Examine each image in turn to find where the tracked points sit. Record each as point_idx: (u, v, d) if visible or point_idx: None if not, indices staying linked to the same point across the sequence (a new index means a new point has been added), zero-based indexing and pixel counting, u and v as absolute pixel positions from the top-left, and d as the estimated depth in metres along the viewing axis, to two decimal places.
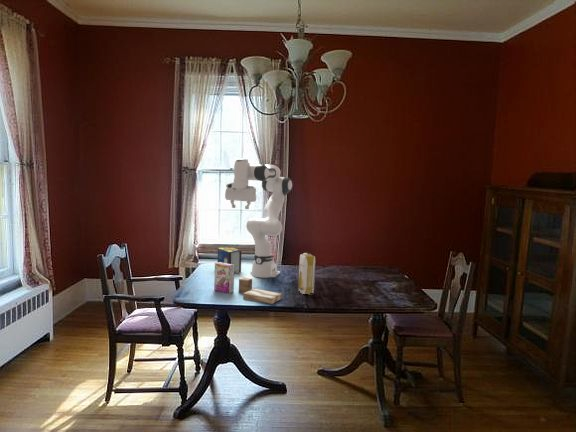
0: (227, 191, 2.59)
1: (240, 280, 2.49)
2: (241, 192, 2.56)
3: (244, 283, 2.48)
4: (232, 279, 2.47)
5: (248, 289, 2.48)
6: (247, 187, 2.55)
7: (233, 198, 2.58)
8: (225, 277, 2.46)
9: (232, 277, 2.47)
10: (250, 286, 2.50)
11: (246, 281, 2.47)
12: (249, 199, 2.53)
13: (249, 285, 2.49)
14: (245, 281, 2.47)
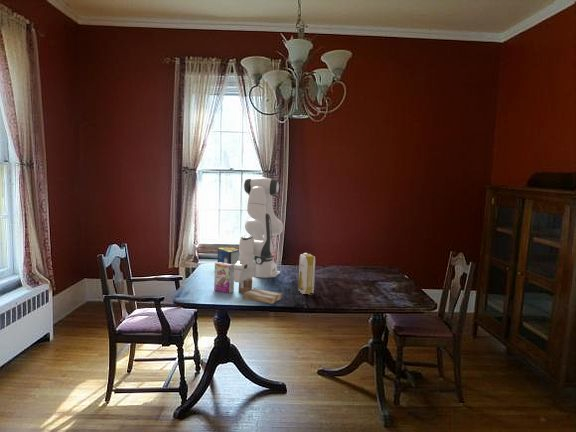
0: (241, 273, 2.41)
1: None
2: (249, 270, 2.50)
3: (244, 283, 2.48)
4: (232, 279, 2.47)
5: (248, 289, 2.48)
6: None
7: (244, 278, 2.46)
8: (225, 276, 2.46)
9: (232, 277, 2.47)
10: (250, 286, 2.50)
11: (246, 281, 2.47)
12: (254, 274, 2.56)
13: (249, 285, 2.49)
14: (245, 281, 2.47)
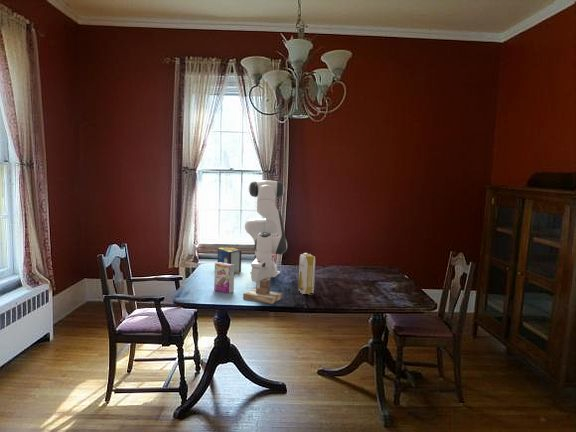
0: (259, 272, 2.29)
1: None
2: (267, 268, 2.38)
3: (262, 284, 2.36)
4: (232, 279, 2.47)
5: (266, 290, 2.36)
6: None
7: (262, 277, 2.33)
8: (225, 277, 2.46)
9: (232, 277, 2.47)
10: (268, 287, 2.38)
11: (264, 282, 2.35)
12: (272, 273, 2.43)
13: (267, 286, 2.37)
14: (263, 282, 2.35)
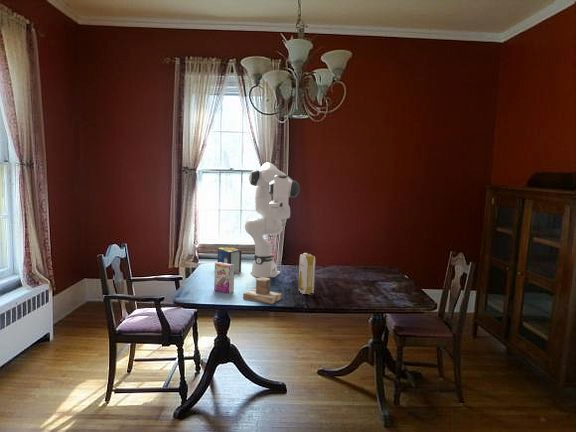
0: (277, 211, 2.37)
1: (257, 281, 2.37)
2: (284, 210, 2.46)
3: (262, 284, 2.36)
4: (232, 279, 2.47)
5: (266, 290, 2.36)
6: None
7: (279, 217, 2.42)
8: (225, 277, 2.46)
9: (232, 277, 2.47)
10: (268, 287, 2.38)
11: (264, 282, 2.35)
12: (288, 216, 2.52)
13: (267, 286, 2.37)
14: (263, 282, 2.35)
